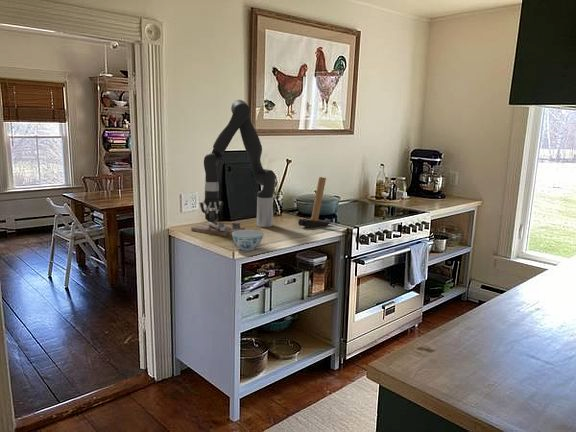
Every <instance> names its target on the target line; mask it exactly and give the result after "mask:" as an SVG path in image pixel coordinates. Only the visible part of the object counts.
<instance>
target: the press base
mask: <svg viewBox="0 0 576 432" xmlns="http://www.w3.org/2000/svg"><path fill="white" fill-rule="evenodd" d="M224 227H225V231H219V230H218V229H216V228H214V227H212V226H211V225H209V224H208V222H206V223H202V224H198V225H194V226H191V229H190V230H191V232H197V233H202V234H208V235H213V236H219V237H224V238H226V237H231V236H232V232H234V231H237V230H246V229H245V227H242V226H241V222H237V221H234V222H232V223H231V225H230V224H225V223H224Z"/></svg>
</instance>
